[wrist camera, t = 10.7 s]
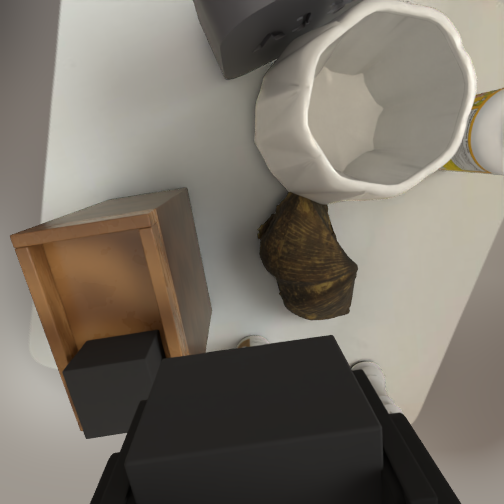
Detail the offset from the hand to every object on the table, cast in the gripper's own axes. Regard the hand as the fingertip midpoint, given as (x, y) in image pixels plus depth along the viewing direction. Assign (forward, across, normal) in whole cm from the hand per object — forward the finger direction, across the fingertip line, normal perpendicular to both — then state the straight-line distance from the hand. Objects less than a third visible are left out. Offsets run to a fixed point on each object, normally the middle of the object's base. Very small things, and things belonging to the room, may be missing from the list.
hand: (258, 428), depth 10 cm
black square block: (+13, +9, +5) cm, 17 cm away
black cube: (0, 0, 0) cm, 0 cm away
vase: (+27, -9, -9) cm, 30 cm away
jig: (+27, +9, +2) cm, 29 cm away
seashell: (+28, -6, +4) cm, 28 cm away
